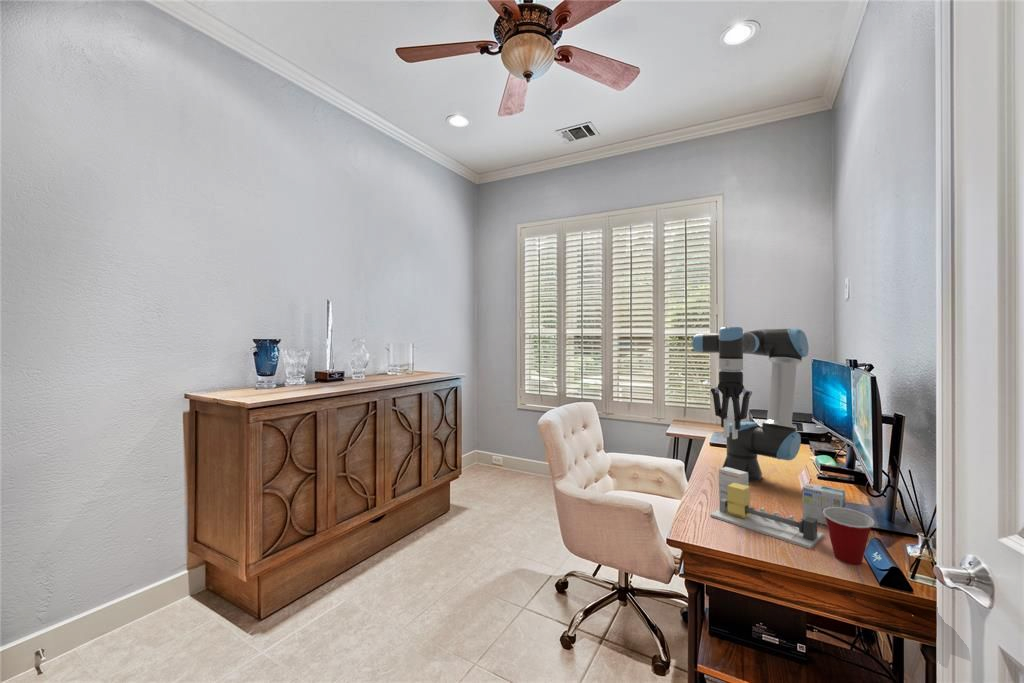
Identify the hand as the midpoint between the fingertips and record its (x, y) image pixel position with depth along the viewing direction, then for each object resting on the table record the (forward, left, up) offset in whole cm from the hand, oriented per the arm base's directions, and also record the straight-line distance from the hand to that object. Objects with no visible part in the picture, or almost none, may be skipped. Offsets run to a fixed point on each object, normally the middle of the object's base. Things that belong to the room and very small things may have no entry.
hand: (730, 437), depth 145 cm
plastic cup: (+12, +35, -25) cm, 44 cm away
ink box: (-5, -1, -25) cm, 25 cm away
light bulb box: (-12, +24, -25) cm, 37 cm away
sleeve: (+7, +6, -23) cm, 25 cm away
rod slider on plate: (+7, +13, -24) cm, 29 cm away
